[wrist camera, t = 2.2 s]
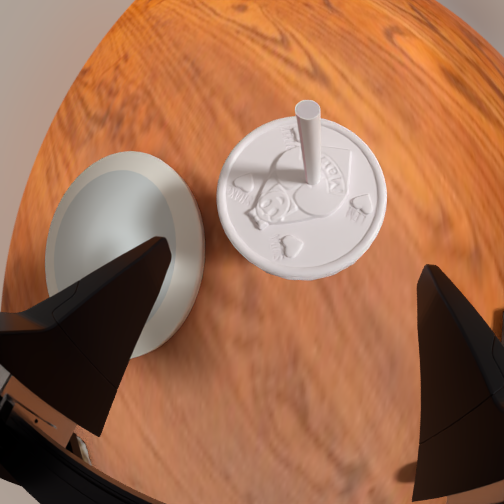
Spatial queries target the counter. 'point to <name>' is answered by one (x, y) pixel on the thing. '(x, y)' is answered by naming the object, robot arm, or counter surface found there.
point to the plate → (130, 233)
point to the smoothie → (301, 196)
